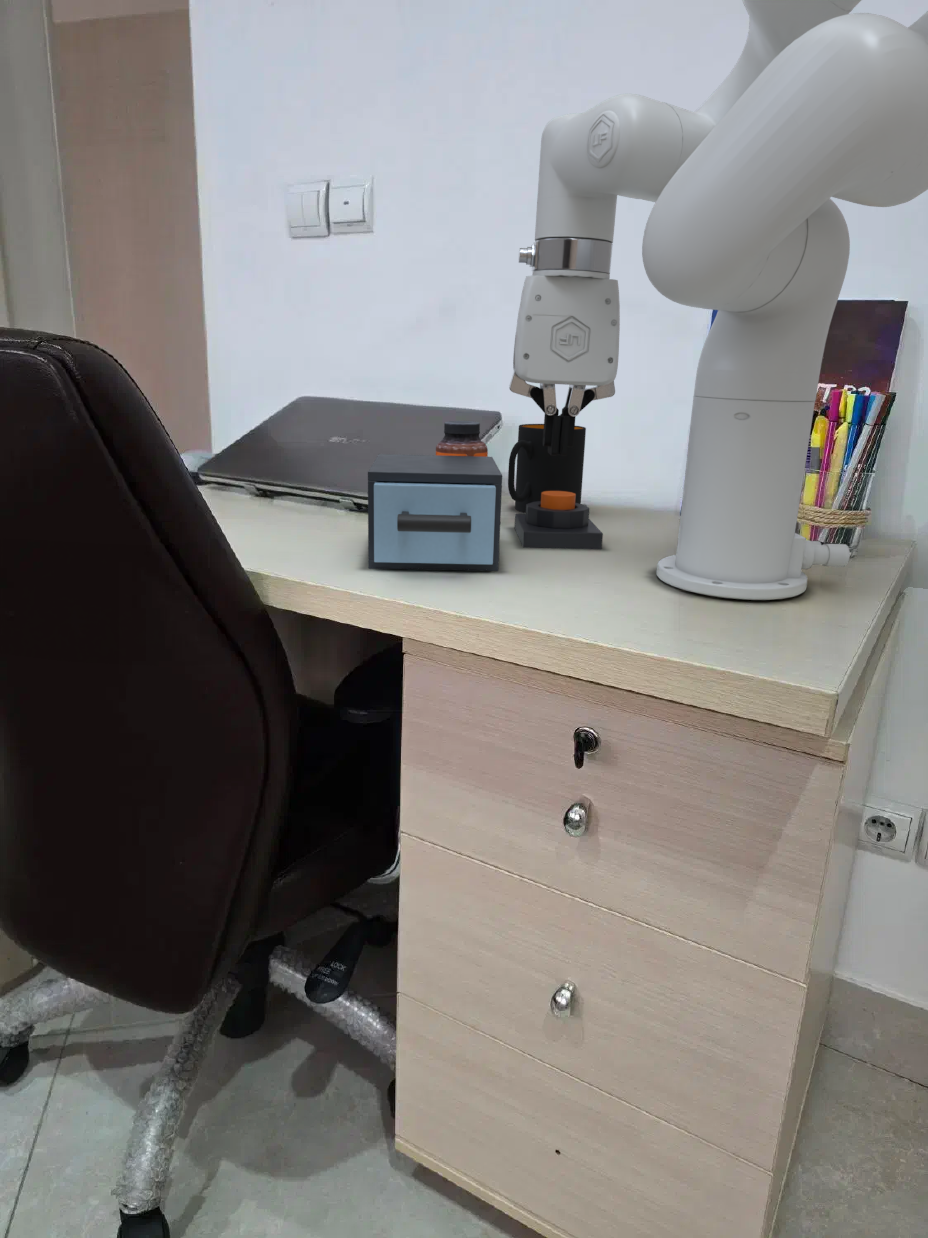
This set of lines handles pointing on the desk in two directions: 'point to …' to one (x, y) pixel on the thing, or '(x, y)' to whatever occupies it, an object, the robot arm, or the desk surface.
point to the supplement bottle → (461, 440)
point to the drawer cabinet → (437, 472)
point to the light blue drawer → (434, 522)
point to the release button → (558, 500)
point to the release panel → (557, 528)
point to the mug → (544, 466)
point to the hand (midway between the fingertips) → (556, 453)
